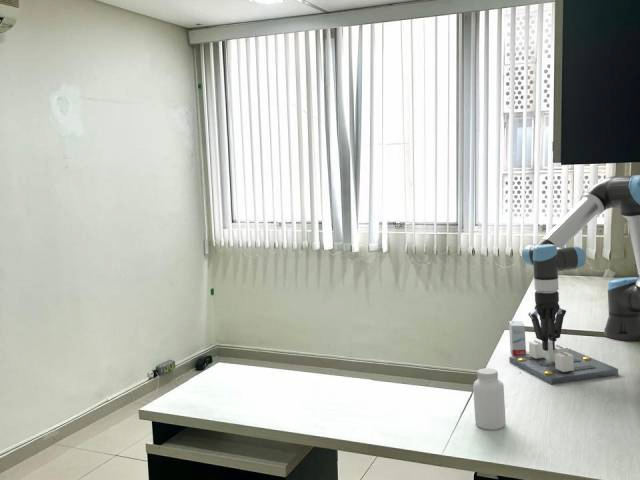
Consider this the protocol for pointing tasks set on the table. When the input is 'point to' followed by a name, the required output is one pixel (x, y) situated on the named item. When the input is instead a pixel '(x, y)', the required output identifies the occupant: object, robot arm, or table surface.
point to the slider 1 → (536, 349)
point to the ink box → (517, 338)
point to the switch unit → (582, 371)
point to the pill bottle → (489, 400)
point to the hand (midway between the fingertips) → (549, 359)
